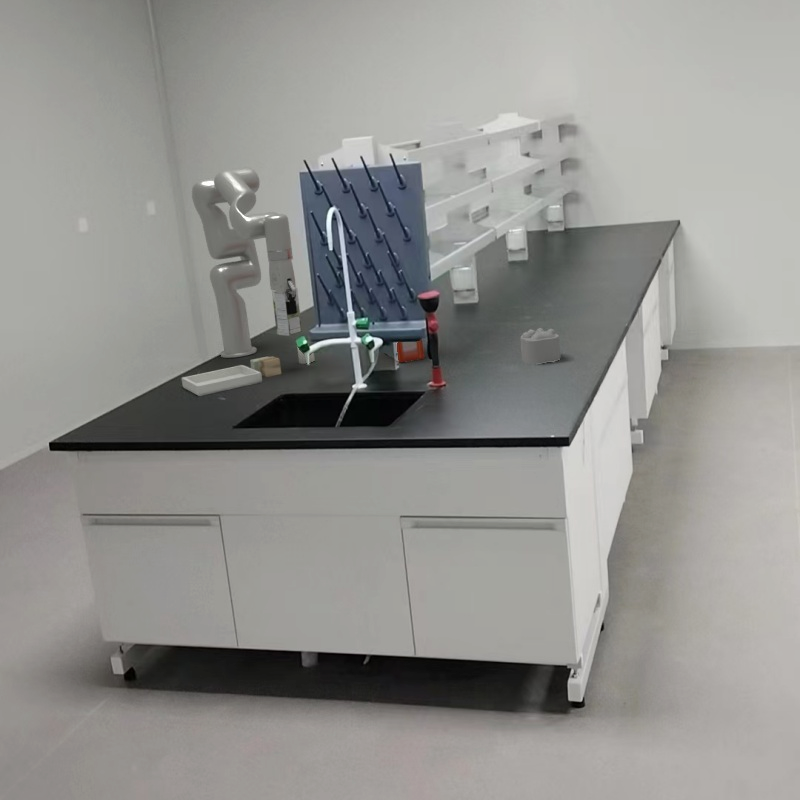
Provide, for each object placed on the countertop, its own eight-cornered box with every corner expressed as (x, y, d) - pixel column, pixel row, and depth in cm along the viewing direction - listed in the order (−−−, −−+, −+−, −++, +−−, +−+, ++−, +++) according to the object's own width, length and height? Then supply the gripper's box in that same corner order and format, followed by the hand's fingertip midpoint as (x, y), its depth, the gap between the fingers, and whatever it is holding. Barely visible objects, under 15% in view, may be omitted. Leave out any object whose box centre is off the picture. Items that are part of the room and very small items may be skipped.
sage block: (251, 372, 328) (250, 359, 327) (269, 368, 331) (267, 356, 330) (255, 374, 325) (254, 361, 324) (273, 370, 327) (272, 358, 326)
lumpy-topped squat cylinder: (529, 366, 297) (527, 336, 294) (516, 357, 309) (514, 329, 307) (564, 361, 298) (562, 331, 296) (550, 352, 310) (548, 324, 308)
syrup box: (289, 330, 326) (283, 285, 322) (302, 332, 322) (297, 286, 318) (276, 335, 322) (270, 289, 318) (289, 336, 318) (284, 289, 314)
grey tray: (183, 387, 317) (181, 377, 316) (243, 374, 326) (242, 364, 325) (199, 396, 303) (197, 386, 302) (262, 382, 312) (261, 372, 311)
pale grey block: (296, 362, 334) (294, 344, 333) (310, 359, 337) (308, 341, 335) (303, 364, 330) (300, 346, 329) (317, 361, 332) (314, 343, 331)
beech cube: (260, 374, 323) (258, 359, 321) (275, 371, 325) (273, 356, 324) (266, 377, 318) (264, 361, 317) (281, 374, 321) (279, 358, 319)
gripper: (258, 254, 321) (265, 310, 326) (279, 259, 306) (286, 318, 311) (280, 251, 324) (287, 306, 329) (302, 256, 309) (309, 314, 314)
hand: (287, 311), depth 320 cm, fingers closed on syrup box, 7 cm apart
